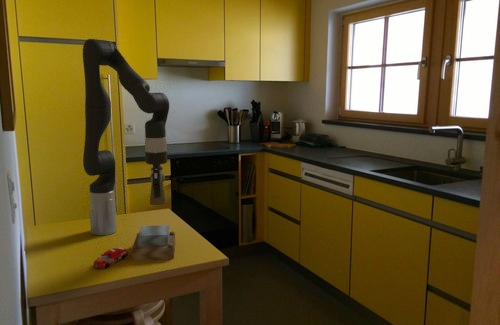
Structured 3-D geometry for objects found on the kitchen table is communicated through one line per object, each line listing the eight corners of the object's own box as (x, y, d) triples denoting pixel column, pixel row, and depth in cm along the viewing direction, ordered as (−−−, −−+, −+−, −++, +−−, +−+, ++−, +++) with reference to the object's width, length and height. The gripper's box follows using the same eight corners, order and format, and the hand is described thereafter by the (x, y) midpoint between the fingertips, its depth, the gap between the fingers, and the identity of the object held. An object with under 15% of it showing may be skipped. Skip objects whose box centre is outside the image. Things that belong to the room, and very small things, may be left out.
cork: (169, 201, 152) (168, 172, 150) (161, 205, 146) (160, 175, 144) (155, 200, 154) (154, 170, 152) (146, 204, 148) (145, 174, 146)
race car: (102, 272, 134) (101, 260, 133) (90, 268, 136) (89, 257, 135) (130, 257, 145) (130, 246, 145) (119, 254, 148) (118, 243, 147)
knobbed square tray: (132, 260, 142) (131, 238, 140) (137, 245, 156) (136, 224, 154) (173, 258, 144) (173, 236, 142) (175, 243, 157) (174, 223, 156)
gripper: (146, 147, 153) (148, 192, 156) (143, 153, 139) (145, 202, 142) (167, 146, 154) (168, 191, 157) (166, 152, 140) (167, 202, 143)
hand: (157, 196), depth 150 cm, fingers closed on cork, 3 cm apart
